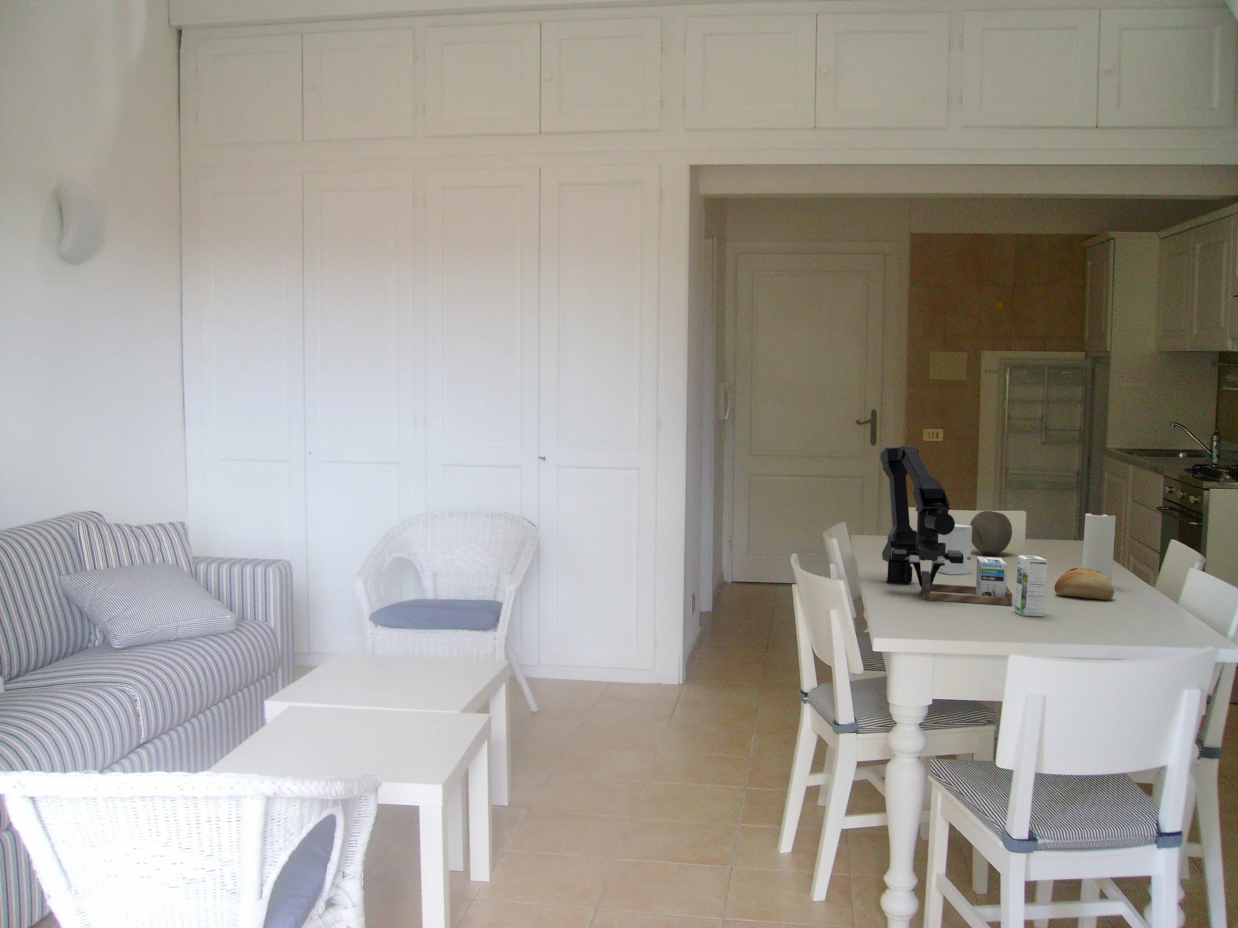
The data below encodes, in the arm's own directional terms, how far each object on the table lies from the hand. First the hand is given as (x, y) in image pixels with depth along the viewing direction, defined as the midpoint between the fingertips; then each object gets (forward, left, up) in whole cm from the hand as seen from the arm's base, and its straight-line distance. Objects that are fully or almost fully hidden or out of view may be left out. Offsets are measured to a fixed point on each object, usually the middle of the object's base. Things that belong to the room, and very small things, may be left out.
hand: (925, 586), depth 290 cm
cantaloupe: (+25, +83, -2) cm, 87 cm away
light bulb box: (+17, 0, -3) cm, 17 cm away
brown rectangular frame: (+10, 0, -2) cm, 11 cm away
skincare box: (+10, +40, -2) cm, 41 cm away
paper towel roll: (+48, +28, -2) cm, 56 cm away
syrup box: (+24, -17, -2) cm, 30 cm away
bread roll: (+42, +12, -3) cm, 44 cm away
